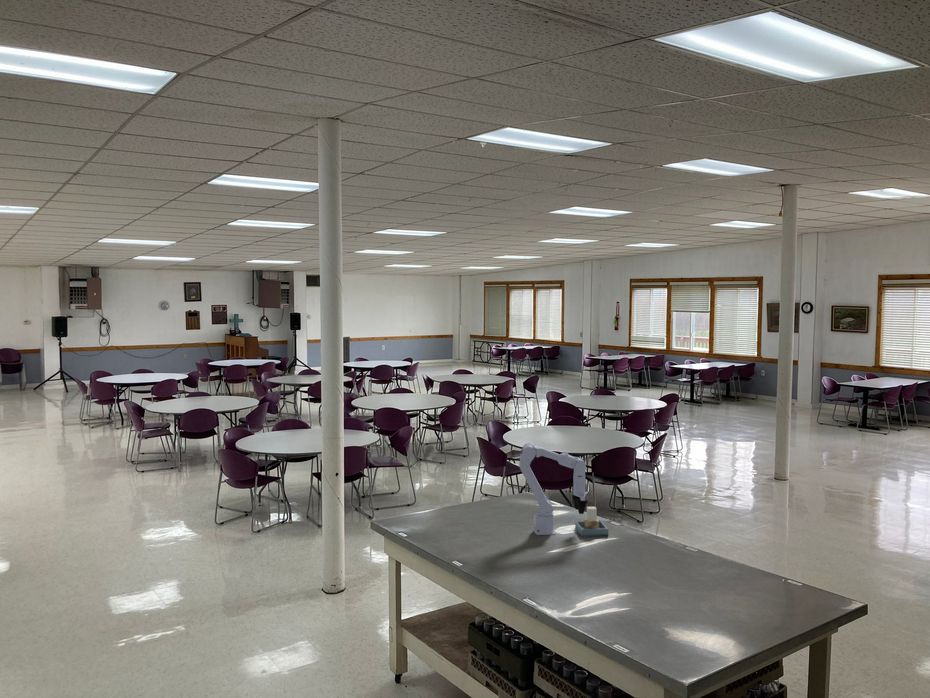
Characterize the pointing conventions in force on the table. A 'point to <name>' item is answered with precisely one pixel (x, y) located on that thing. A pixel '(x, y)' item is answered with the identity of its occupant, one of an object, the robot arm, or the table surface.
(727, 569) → the table surface
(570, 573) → the table surface
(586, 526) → the oak block
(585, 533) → the tote
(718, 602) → the table surface
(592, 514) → the cream carton
